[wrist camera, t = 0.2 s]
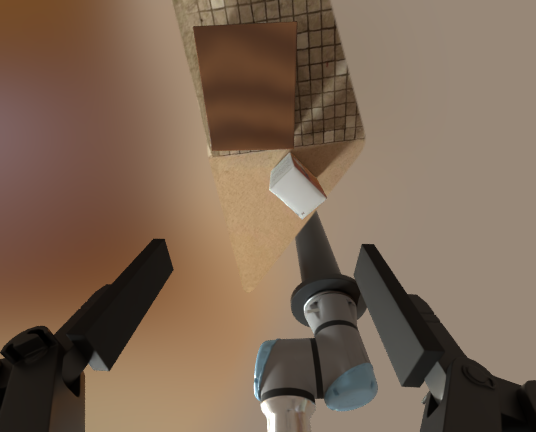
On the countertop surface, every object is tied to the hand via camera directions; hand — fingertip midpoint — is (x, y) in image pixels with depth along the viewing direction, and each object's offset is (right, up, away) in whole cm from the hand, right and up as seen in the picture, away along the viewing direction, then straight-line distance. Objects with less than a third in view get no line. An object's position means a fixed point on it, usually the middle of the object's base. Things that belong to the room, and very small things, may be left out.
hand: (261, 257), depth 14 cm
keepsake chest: (-2, +23, +22) cm, 32 cm away
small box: (+6, +11, +28) cm, 31 cm away
